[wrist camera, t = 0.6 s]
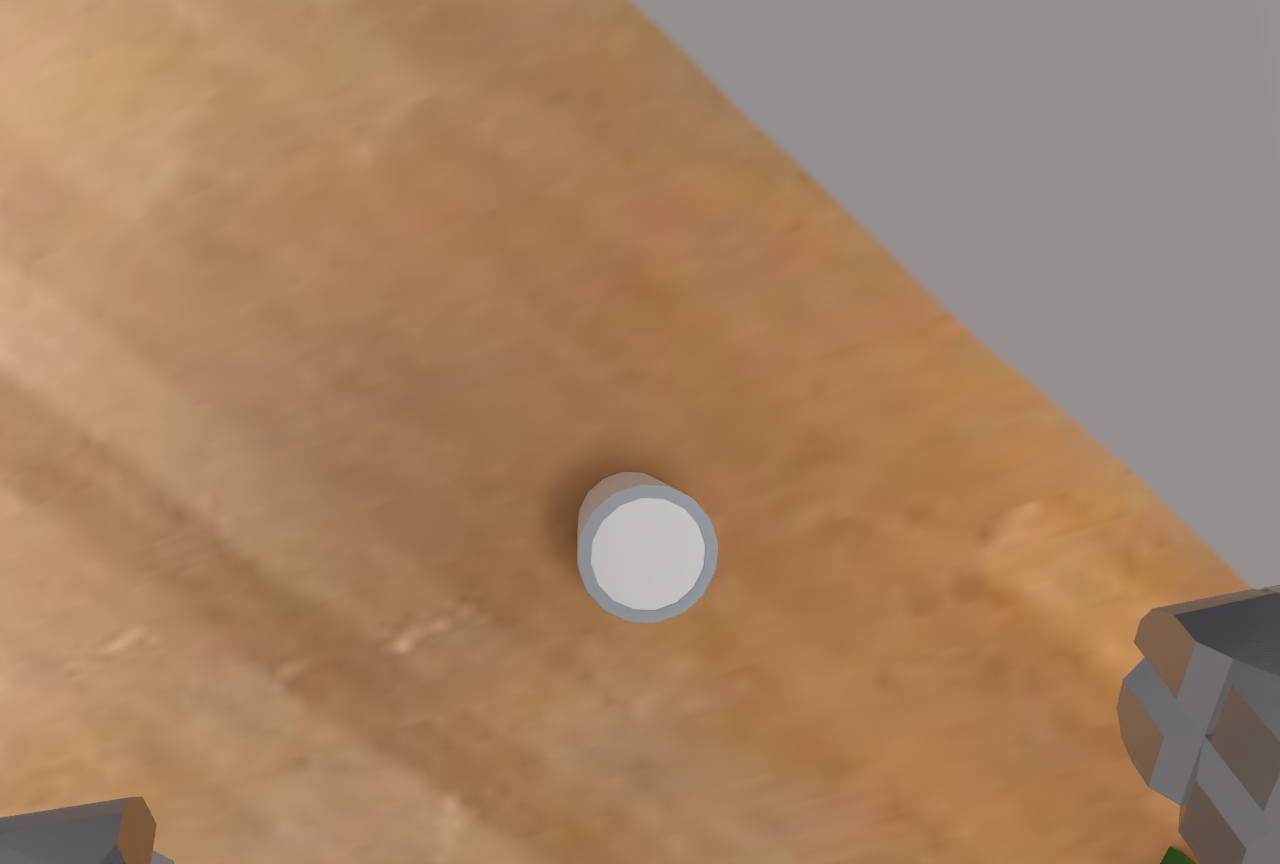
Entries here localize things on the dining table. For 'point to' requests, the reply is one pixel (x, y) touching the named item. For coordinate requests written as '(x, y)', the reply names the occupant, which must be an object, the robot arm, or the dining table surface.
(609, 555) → the light grey cylinder
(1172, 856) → the hardback book
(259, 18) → the dining table surface
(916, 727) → the dining table surface
